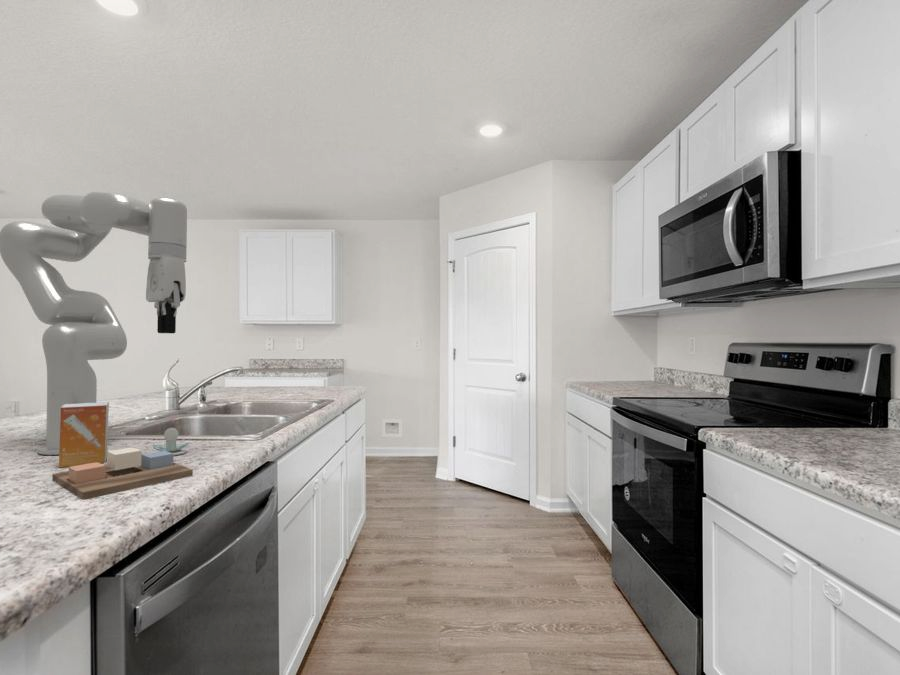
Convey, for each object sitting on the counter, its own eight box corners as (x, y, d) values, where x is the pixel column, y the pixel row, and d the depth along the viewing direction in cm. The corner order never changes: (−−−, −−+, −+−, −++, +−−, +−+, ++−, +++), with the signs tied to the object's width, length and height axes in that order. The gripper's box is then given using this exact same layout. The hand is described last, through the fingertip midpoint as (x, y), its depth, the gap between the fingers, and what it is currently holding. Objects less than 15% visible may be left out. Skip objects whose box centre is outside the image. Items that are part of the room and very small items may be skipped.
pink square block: (68, 483, 86) (68, 466, 86) (97, 477, 89) (97, 462, 89) (76, 487, 83) (76, 471, 83) (105, 481, 86) (105, 465, 86)
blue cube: (141, 468, 95) (141, 454, 95) (164, 464, 99) (164, 450, 99) (150, 472, 93) (150, 457, 93) (173, 467, 96) (173, 453, 96)
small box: (58, 468, 97) (59, 407, 97) (63, 461, 102) (64, 403, 102) (106, 463, 101) (106, 404, 102) (108, 457, 107) (109, 401, 107)
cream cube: (106, 466, 90) (107, 451, 90) (132, 461, 94) (132, 447, 94) (115, 470, 88) (115, 454, 88) (141, 465, 91) (141, 450, 91)
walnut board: (52, 480, 89) (52, 473, 89) (155, 461, 103) (155, 455, 103) (82, 499, 78) (83, 492, 78) (192, 475, 93) (192, 469, 93)
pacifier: (186, 456, 109) (189, 450, 114) (186, 430, 109) (189, 425, 114) (150, 459, 106) (154, 453, 111) (150, 432, 106) (154, 427, 111)
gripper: (136, 254, 107) (134, 333, 107) (163, 247, 98) (162, 332, 98) (170, 259, 113) (169, 333, 113) (200, 253, 104) (198, 333, 104)
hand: (166, 333), depth 105 cm, fingers closed
